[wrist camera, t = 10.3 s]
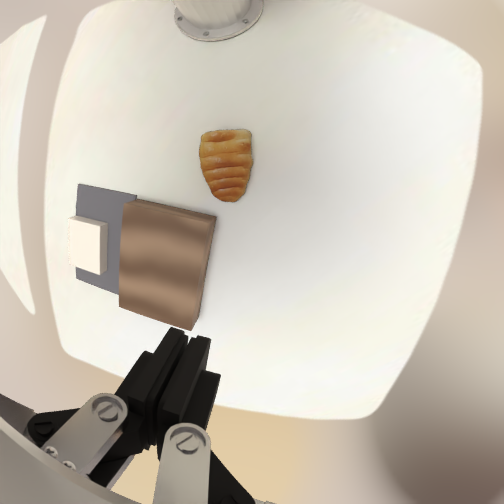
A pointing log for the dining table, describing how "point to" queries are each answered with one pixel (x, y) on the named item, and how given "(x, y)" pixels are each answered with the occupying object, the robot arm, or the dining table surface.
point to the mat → (109, 211)
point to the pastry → (226, 162)
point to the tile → (88, 244)
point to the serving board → (163, 261)
